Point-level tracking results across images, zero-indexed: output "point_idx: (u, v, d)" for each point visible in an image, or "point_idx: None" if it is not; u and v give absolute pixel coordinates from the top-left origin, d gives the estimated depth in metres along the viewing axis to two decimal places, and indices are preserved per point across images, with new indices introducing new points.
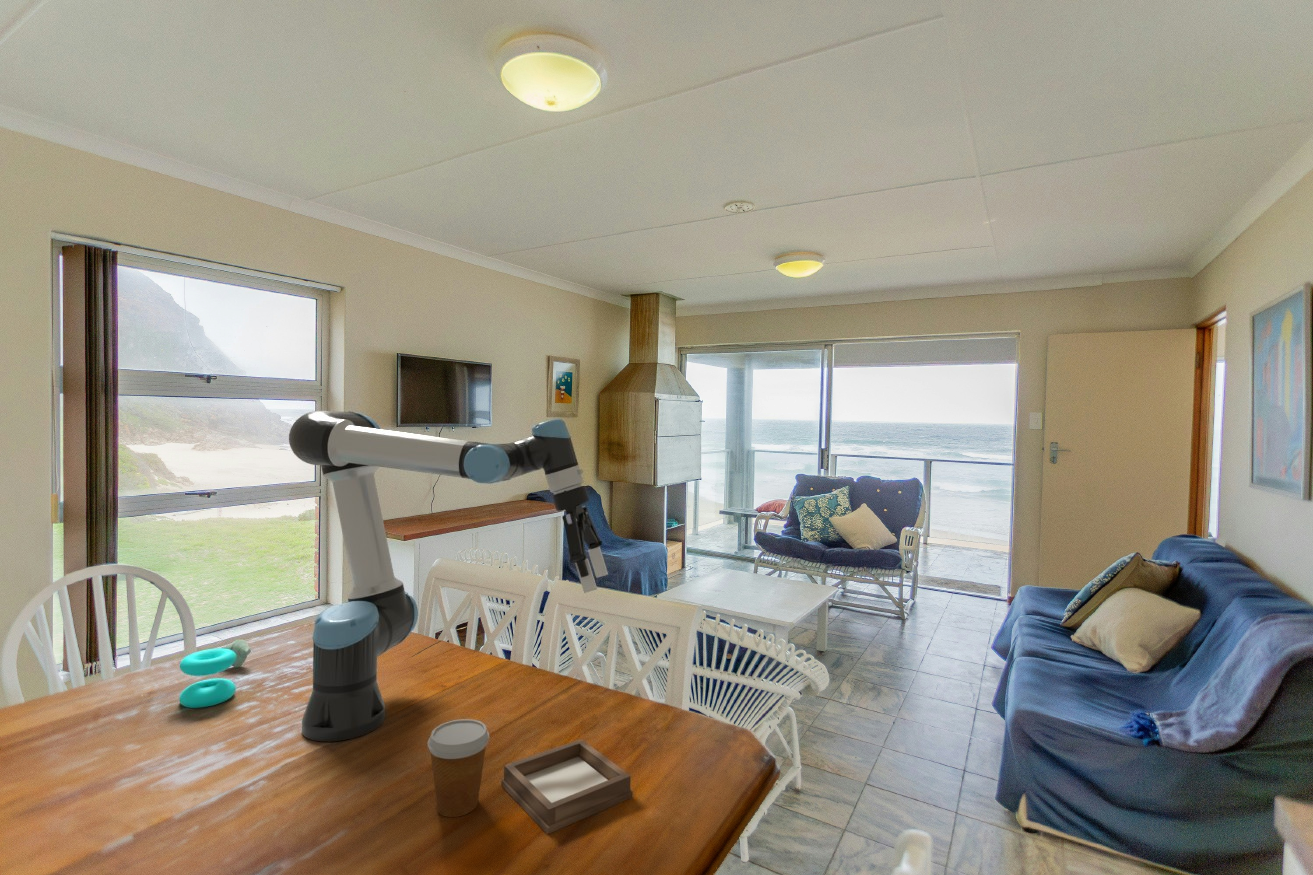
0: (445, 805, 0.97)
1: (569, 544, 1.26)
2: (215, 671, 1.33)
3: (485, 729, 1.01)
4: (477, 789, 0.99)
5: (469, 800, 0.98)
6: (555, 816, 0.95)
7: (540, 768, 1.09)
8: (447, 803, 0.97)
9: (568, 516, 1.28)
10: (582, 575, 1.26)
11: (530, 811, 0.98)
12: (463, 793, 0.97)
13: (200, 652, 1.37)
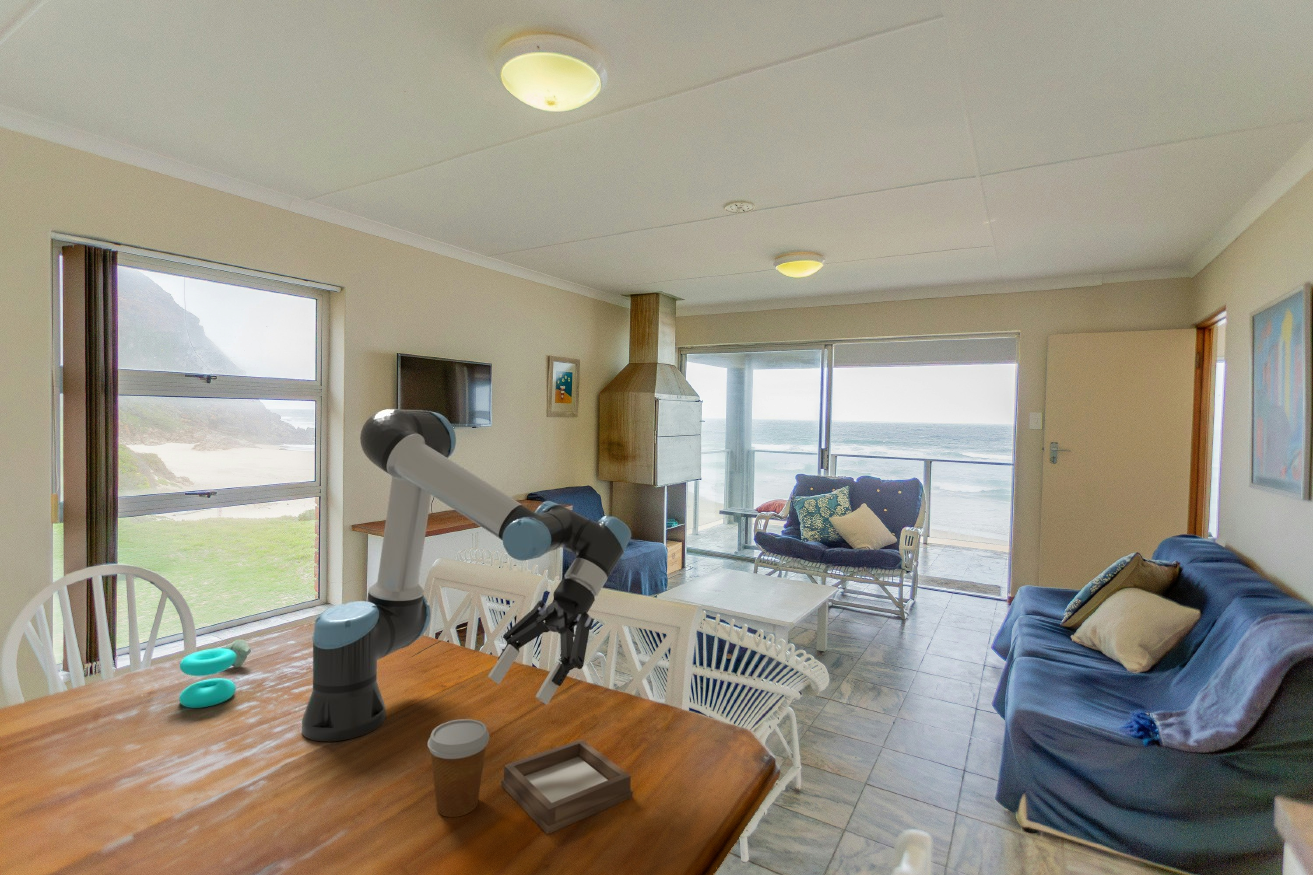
0: (445, 805, 0.97)
1: (579, 644, 1.08)
2: (215, 671, 1.33)
3: (485, 729, 1.01)
4: (477, 789, 0.99)
5: (469, 800, 0.98)
6: (555, 816, 0.95)
7: (540, 768, 1.09)
8: (447, 803, 0.97)
9: (590, 618, 1.13)
10: (557, 681, 1.05)
11: (530, 811, 0.98)
12: (463, 793, 0.97)
13: (200, 652, 1.37)
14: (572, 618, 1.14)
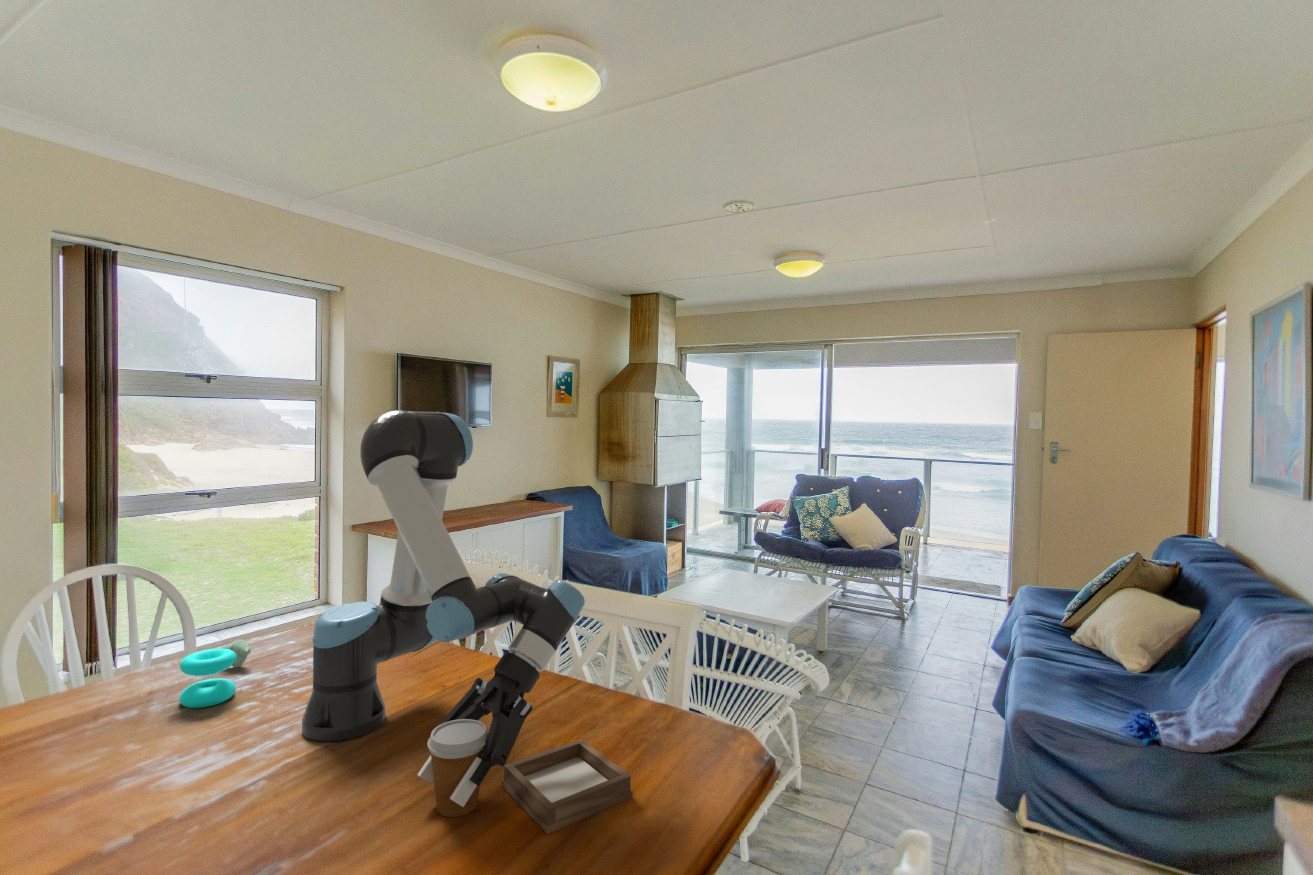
0: (445, 805, 0.97)
1: (506, 738, 0.98)
2: (215, 671, 1.33)
3: (485, 729, 1.01)
4: (477, 789, 0.99)
5: (469, 800, 0.98)
6: (555, 816, 0.95)
7: (540, 768, 1.09)
8: (447, 803, 0.97)
9: (527, 707, 1.02)
10: (476, 781, 0.95)
11: (530, 811, 0.98)
12: None
13: (200, 652, 1.37)
14: (510, 700, 1.03)
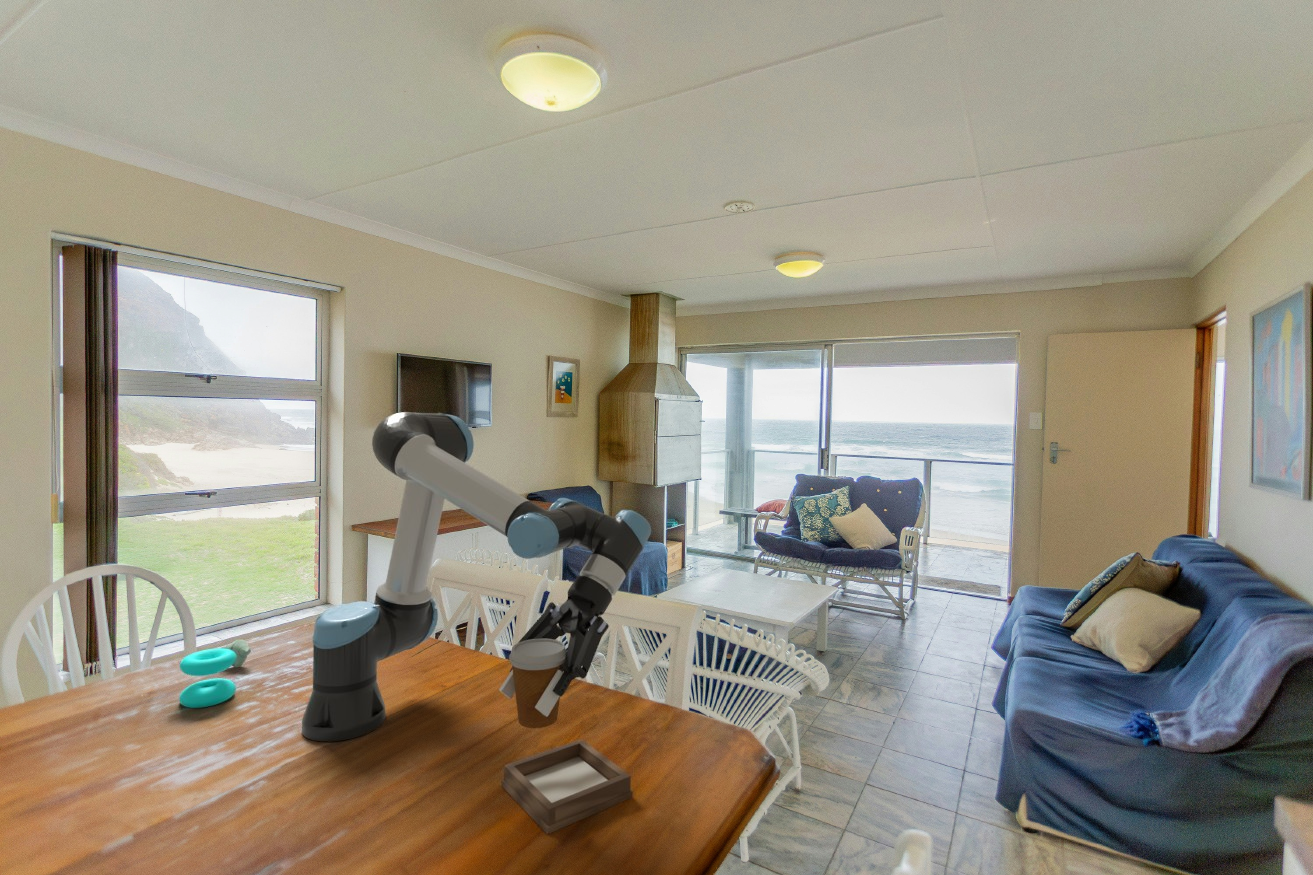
0: (528, 717, 0.99)
1: (586, 652, 1.00)
2: (215, 671, 1.33)
3: (563, 645, 1.03)
4: (557, 703, 1.02)
5: (550, 712, 1.00)
6: (555, 816, 0.95)
7: (540, 768, 1.09)
8: (530, 714, 0.99)
9: (604, 624, 1.04)
10: (559, 691, 0.98)
11: (530, 811, 0.98)
12: None
13: (200, 652, 1.37)
14: (587, 619, 1.05)
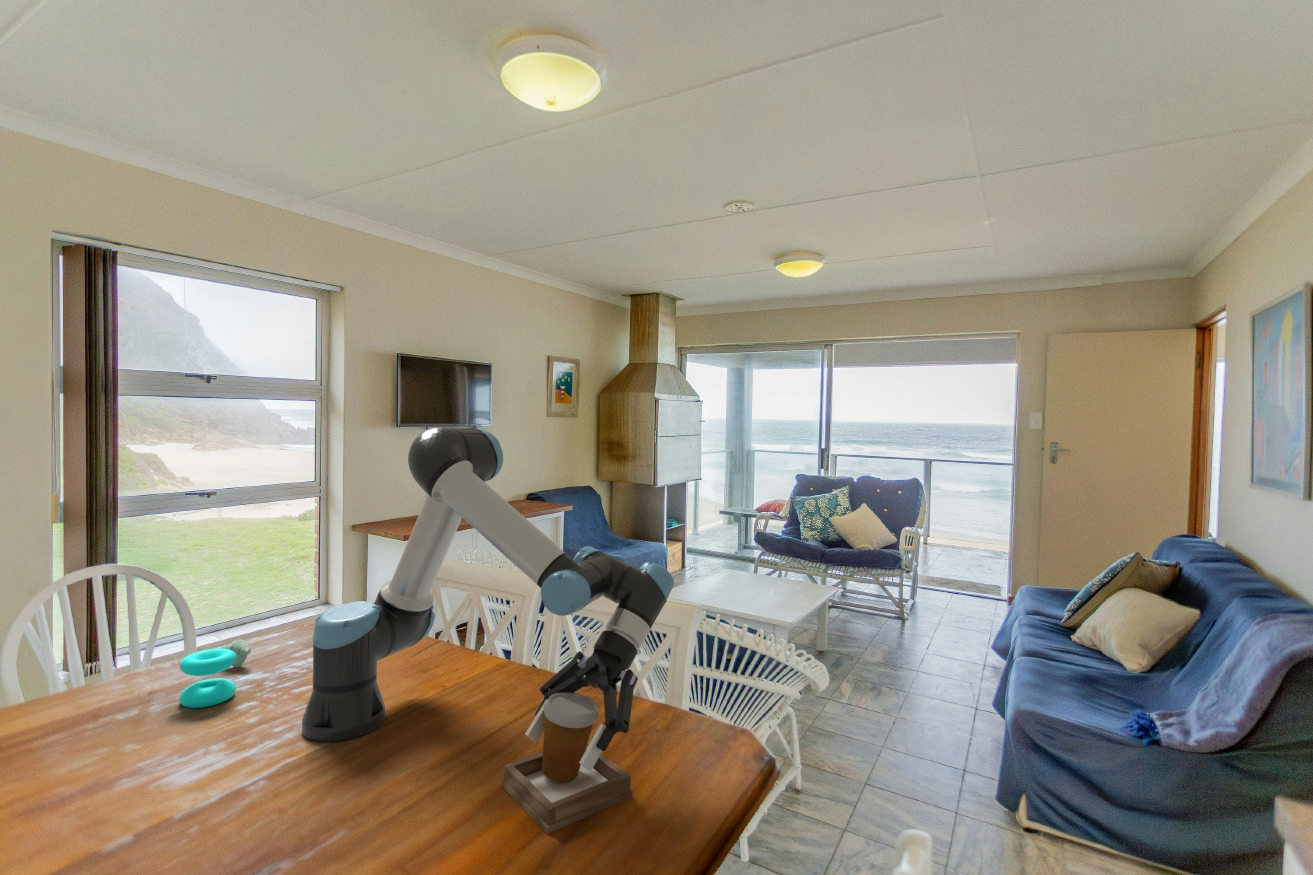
0: (553, 770, 1.04)
1: (625, 706, 1.02)
2: (215, 671, 1.33)
3: (595, 705, 1.08)
4: None
5: (574, 768, 1.05)
6: (555, 816, 0.95)
7: (540, 768, 1.09)
8: (555, 767, 1.04)
9: (634, 676, 1.07)
10: (602, 746, 0.99)
11: (530, 811, 0.98)
12: (571, 761, 1.04)
13: (200, 652, 1.37)
14: (615, 675, 1.08)
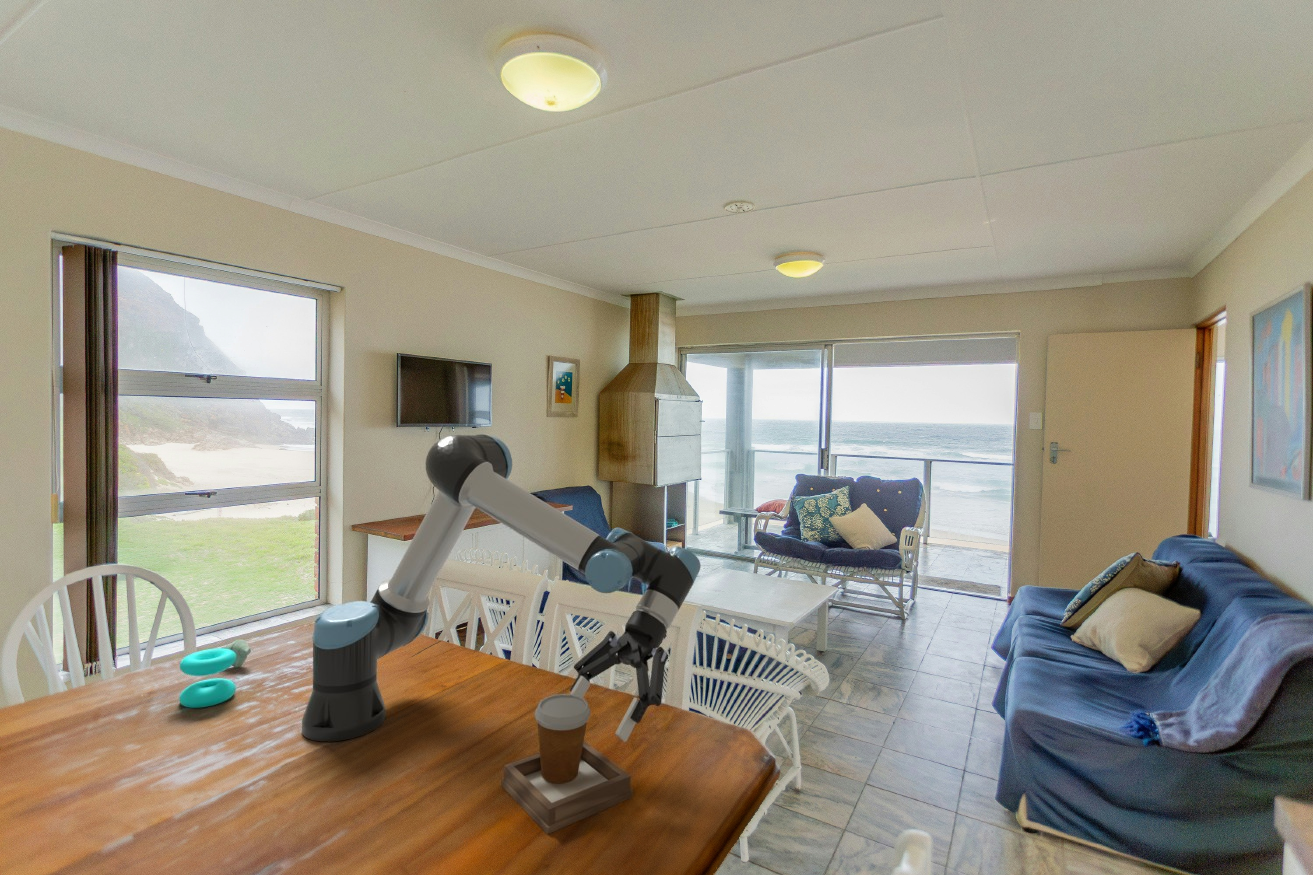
0: (550, 772, 1.04)
1: (657, 681, 1.08)
2: (215, 671, 1.33)
3: (586, 705, 1.08)
4: (579, 759, 1.06)
5: (571, 769, 1.05)
6: (555, 816, 0.95)
7: (540, 768, 1.09)
8: (552, 770, 1.04)
9: (665, 653, 1.12)
10: (636, 718, 1.05)
11: (530, 811, 0.98)
12: (567, 762, 1.04)
13: (200, 652, 1.37)
14: (647, 652, 1.13)
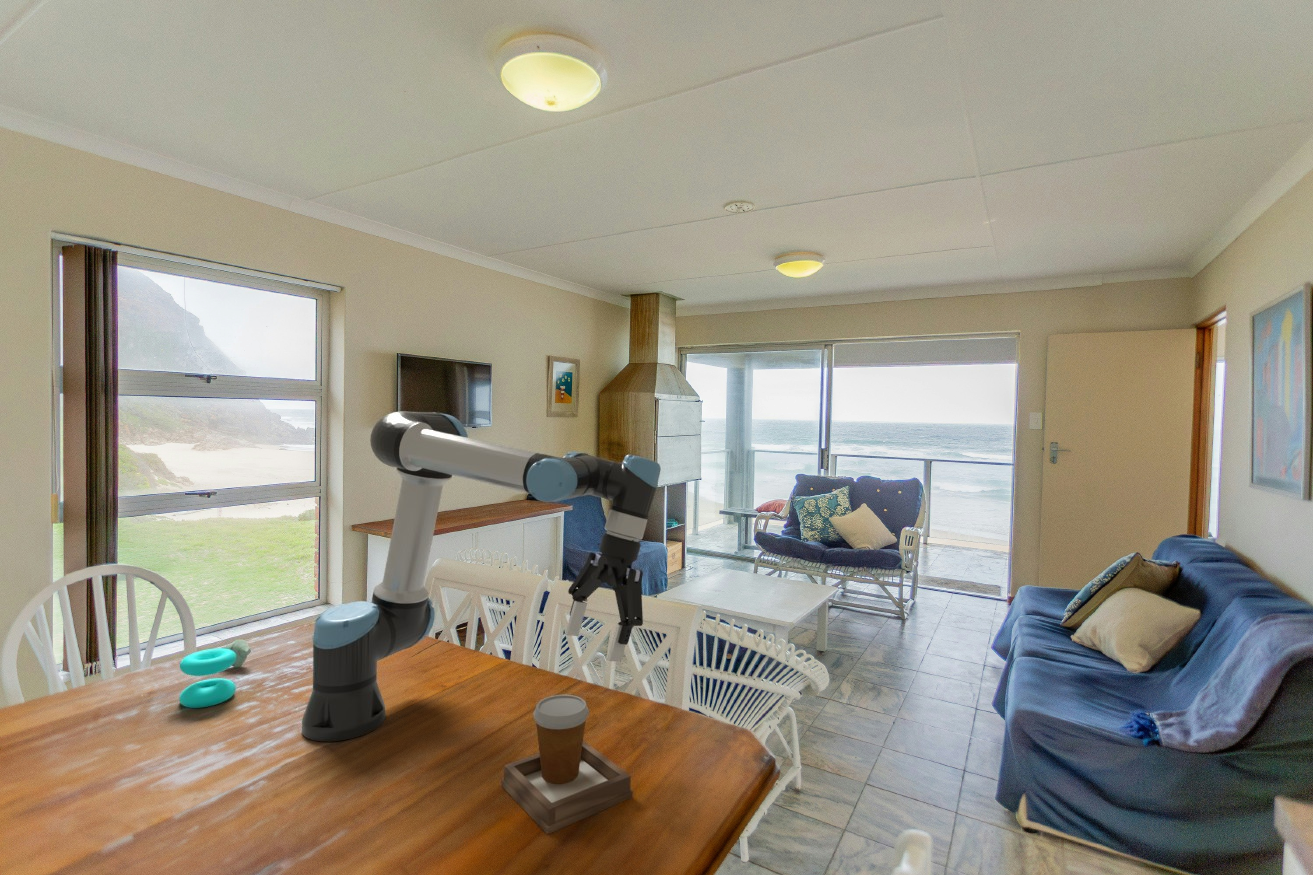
0: (551, 773, 1.04)
1: (633, 605, 1.10)
2: (215, 671, 1.33)
3: (585, 704, 1.08)
4: (579, 759, 1.06)
5: (572, 769, 1.05)
6: (555, 816, 0.95)
7: (540, 768, 1.09)
8: (552, 770, 1.04)
9: (638, 573, 1.13)
10: (623, 642, 1.10)
11: (530, 811, 0.98)
12: (567, 762, 1.04)
13: (200, 652, 1.37)
14: (622, 574, 1.14)
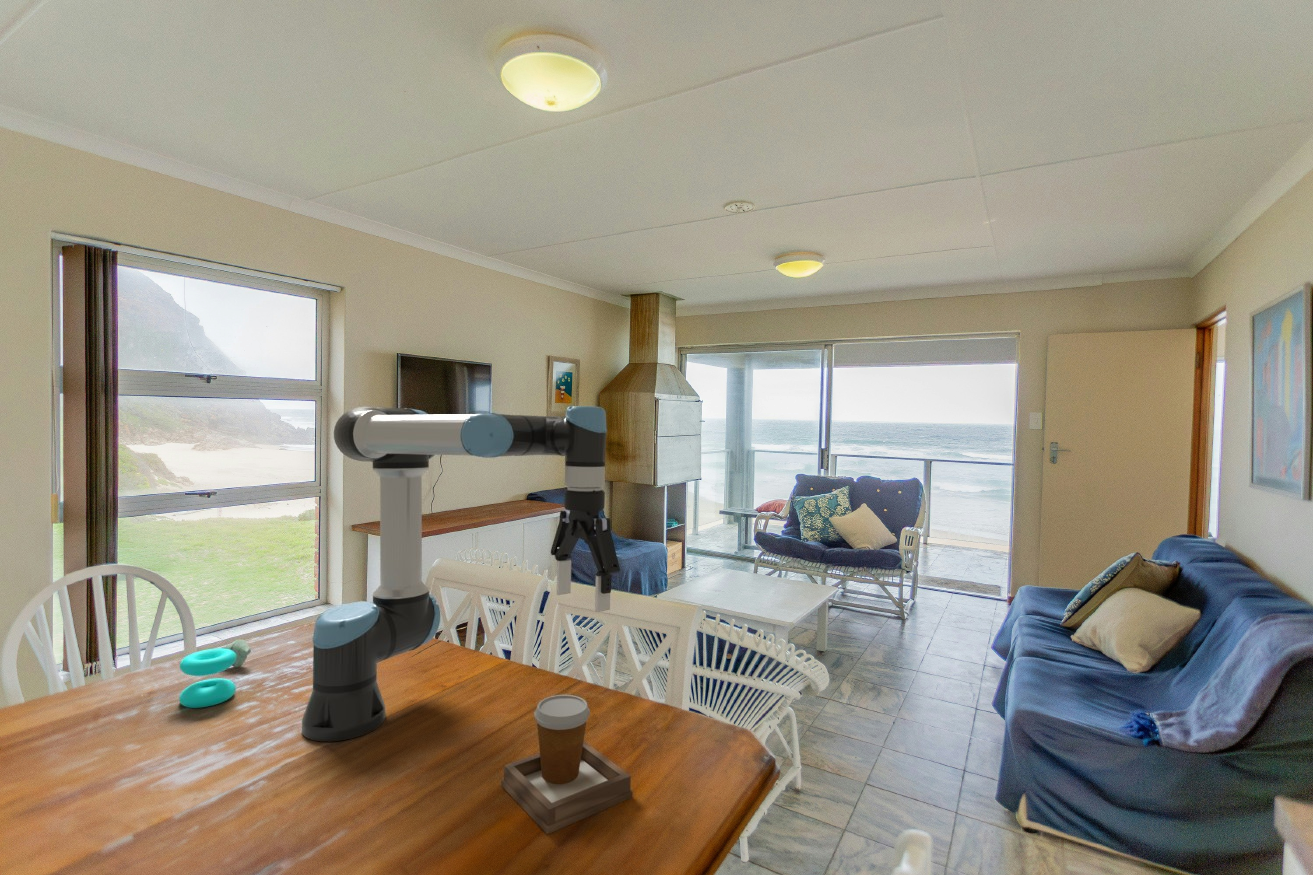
0: (551, 773, 1.04)
1: (606, 553, 1.09)
2: (215, 671, 1.33)
3: (586, 704, 1.08)
4: (579, 760, 1.06)
5: (572, 769, 1.05)
6: (555, 816, 0.95)
7: (540, 768, 1.09)
8: (553, 770, 1.04)
9: (605, 521, 1.11)
10: (606, 591, 1.10)
11: (530, 811, 0.98)
12: (567, 762, 1.04)
13: (200, 652, 1.37)
14: (591, 526, 1.13)
